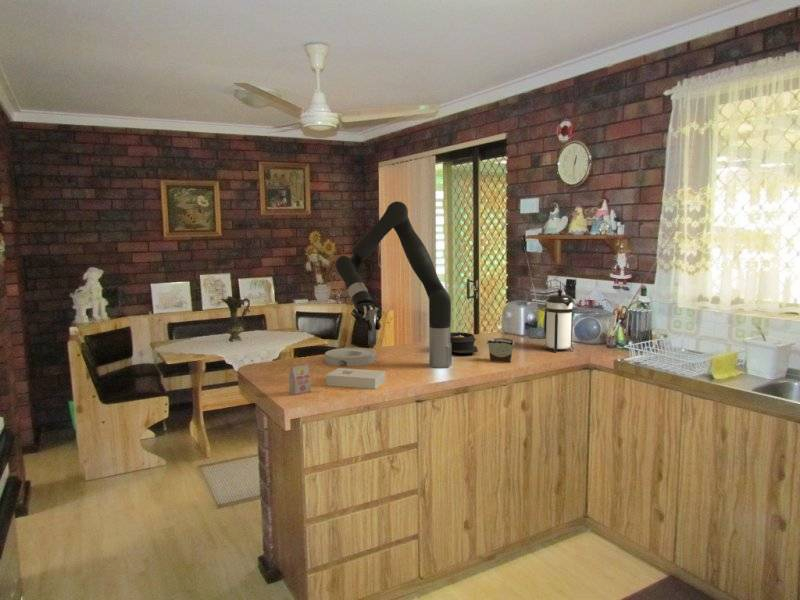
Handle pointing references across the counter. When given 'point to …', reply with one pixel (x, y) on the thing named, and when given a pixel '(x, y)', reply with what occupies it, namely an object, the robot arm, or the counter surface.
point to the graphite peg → (373, 323)
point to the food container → (500, 349)
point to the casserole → (462, 343)
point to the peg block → (355, 378)
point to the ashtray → (350, 356)
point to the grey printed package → (299, 380)
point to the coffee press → (558, 321)
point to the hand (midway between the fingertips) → (374, 329)
